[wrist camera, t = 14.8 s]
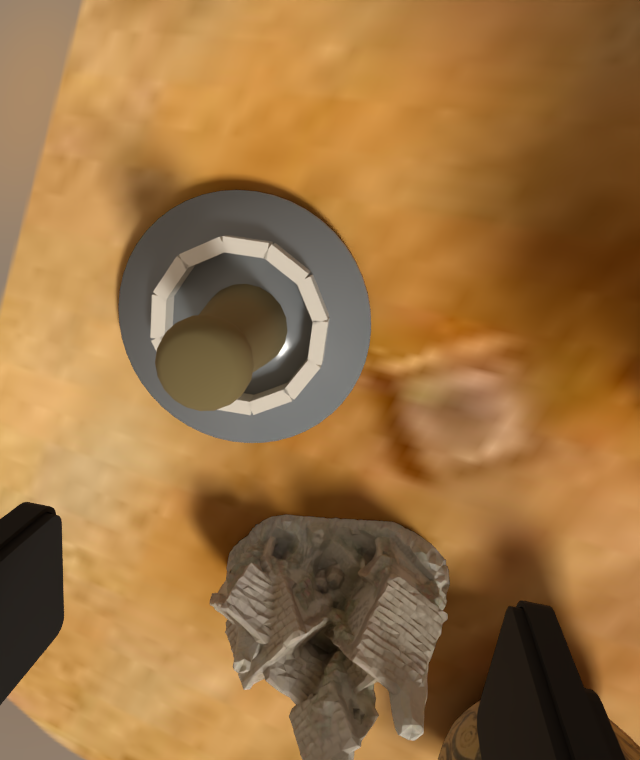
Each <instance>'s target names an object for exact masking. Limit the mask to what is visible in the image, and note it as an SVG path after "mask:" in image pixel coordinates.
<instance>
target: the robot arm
mask: <svg viewBox="0 0 640 760" xmlns="http://www.w3.org/2000/svg"><path fill="white" fill-rule="evenodd" d="M63 620H64V598H63V559H62V522H61V518H60V516H58V515H56V512H55V510H54V508H52V507H50V506H45V505H40V504H35V503H30V502H24V503H22V504H20V505H19V506H17V507H16V508H15V509H13V510H12V511H11V512H9V513H8V514H7V515H5V516H4V517H3V518H1V519H0V705H1V704H2V702H3V701H4V700H5V699H6V697H7V696H8V695H9V694H10V693H11V691H12V690H13V689H14V688H15V686H16V685H17V684H18V683H19V682H20V680H21V679H22V678H23V677H24V675H25V674H26V673H27V672H28V671H29V669H30V668H31V667H32V666H33V665H34V663H35V662H36V661H37V660H38V658H39V657H40V656H41V655H42V654H43V652H44V651H45V650H46V649H47V647H48V646H49V645H50V644H51V643H52V641H53V640H54V639H55V638H56V636H57V635H58V633H59V631H60V630H61V627H62V624H63ZM477 733H478V739H479V746H480V752H481V759H482V760H626V759H625V757H624V754H623V752H622V749H621V747H620V745H619V742H618V740H617V737H616V735H615V733H614V730H613V728H612V726H611V723H610V721H609V718H608V716H607V714H606V711H605V709H604V706H603V704H602V702H601V700H600V698H599V696H598V695H597V694H596V693H595V692H594V691H593V690H591V689H586V688H584V686H583V684H582V681H581V679H580V676H579V673H578V671H577V668H576V666H575V663H574V661H573V658H572V656H571V653H570V651H569V648H568V646H567V643H566V641H565V638H564V635H563V633H562V630H561V628H560V625H559V623H558V620H557V618H556V615H555V613H554V611H553V609H552V607H550V606H547V605H542V604H537V603H532V602H527V601H519V603H518V604H517V606H516V607H512V606H509V607H508V608H507V610H506V613H505V617H504V620H503V624H502V627H501V631H500V634H499V638H498V641H497V645H496V648H495V651H494V655H493V658H492V662H491V665H490V669H489V672H488V676H487V679H486V683H485V686H484V690H483V693H482V697H481V700H480V704H479V707H478V712H477Z"/></svg>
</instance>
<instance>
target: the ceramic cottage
mask: <svg viewBox="0 0 640 760" xmlns="http://www.w3.org/2000/svg"><path fill="white" fill-rule="evenodd" d="M238 542H239V543H238V544H237V545H235V546H234V547H233V549H232V551H231V552H230V553H229V558H228V564H227V577H226V581H225V582H224V584H223V585H222V586H221V588H220V590H219V592H218V593H212V596H211V599H210V605H211V606H213V607H214V609H215V610H217V611H218V612H220V613H221V614H223V615H224V616H225V617H226V618H227V619H228V620H227V622H226V631H225V633H226V634H227V636H228V640H229V642H230V645H231V650H232V652H233V656H234V663H233V668H234V670H235V671H236V672H238V673H239V674H238V676H239V678H240V680H241V683H242V686H243V689H244V690H247V689H251V687H252V685H253V684H255V683H257V682H259V681H260V680H263V679H265V680H266V682H268V683H269V684H270V685H272V686H273V687H274V688H275V689H277V690H278V691H279V692H281V693H283V694H284V695H286V696H288V697H290V698H291V700H292V701H293V702H294V703H295V704H296V706H294V707H293V708H292V710H291V712H290V715H289V718H290V720H291V723H292V726H293V729H294V734H295V737H296V740H297V743H298V746H299V749H300V755H301V757H302V759H303V760H354V751H355V750H357V749H358V748H360V747H361V741H362V739H363V738H364V737H365V736H366V734H367V733H368V731H369V730H370V728H371V727H372V725H373V724H374V723H375V721H376V719H377V717H378V716H379V715H378V713H377V711H376V709H375V701H376V697H375V693H374V683H376V682H379V683H380V684H382V685H383V686H384V687H385V688H386V689H387V690H388V691H389V695H390V703H391V710H392V716H393V721H394V726H395V729H396V731H397V734H398V735H400V736H402V737H404V738H406V739H409V740H414V741H415V740H416V739H417V738H418V737H420V736H421V735H422V734H423V732H424V708H425V704H426V700H427V690H428V684H427V674H428V663H429V661H430V659H431V657H432V654H433V651H434V648H435V646H436V643H437V640H438V638H439V636H440V635H441V630H442V623H444V622H445V621H446V620H447V619H448V614H447V613H445V612H444V611H443V610H444V608H445V606H446V603H447V600H446V593H447V591H448V588H449V584H450V581H449V570H448V567H447V566H446V560H445V559H444V558H443V557H442V555H441V554H440V553H439V552H438V551H437V550H436V548H435V547H434V546H433V545H432V544H430V543H429V542H427V541H426V540H425V539H423V538H422V537H421V536H419V535H417V534H416V533H414V532H413V531H410V530H409V529H405V528H404V527H403V526H401V525H399V524H397V523H394V522H387V521H385V522H383V521H376V520H374V521H370V520H368V521H367V520H361V519H360V520H356V519H339V518H332V519H330V518H328V519H327V518H324V517H322V518H320V517H310V516H307V517H306V516H304V517H303V516H295V515H280V516H272V517H270V518H267V519H266V520H263V521H262V522H261V523H260V524H256V525H255V528H252V531H250V533H249V535H248V536H246V537H245V538H243V539H242V540H240V541H238Z"/></svg>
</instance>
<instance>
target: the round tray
mask: <svg viewBox="0 0 640 760" xmlns="http://www.w3.org/2000/svg"><path fill="white" fill-rule="evenodd" d="M236 284H249V285H253V286H257V287H260V288H262V289H263V290H265V291H267V292H268V293H270V294H272V296H273V297H274V298H275V299H276V300H277V301H278V303H279V304H280V305H281V307H282V309H283V312H284V314H285V316H286V322H287V335H286V340H285V344H284V346H283V347H282V349H281V351H280V352H279V354H278V355H277V356H276V357H275V358H273V359H272V360H271V361H270V362H268V363H267V364H265V365H264V366H262V367H261V368H259V369H258V370H256V371H255V372H253V374H252V379H251V381H250V383H249V385H248V386H247V388H246V390H245V391H244V393H243V394H242V396H241V397H239V398H238V399H237V400H236V401H234V402H233V403H232V404H231V405H228V406H225V407H223V408H220V409H217V410H215V411H198V410H194V409H190V408H187V407H185V406H183V405H181V404H180V403H178V402H176V401H175V400H174V399H173V398H172V397H171V396H170V395H169V394H168V393H167V392H166V391H165V390H164V388H163V386H162V384H161V383H160V381H159V379H158V377H157V371H156V366H155V359H156V352H157V348H158V346H159V344H160V342H161V340H162V338H163V336H164V334H165V332H167V331H168V330H169V329H170V328H171V327H172V326H173V325H174V324H175V323H177V322H179V321H181V320H183V319H186V318H188V317H191V316H194V315H199V314H200V313H201V311H202V310H203V309H204V307H205V306H206V305H207V303H208V302H209V301H210V300H211V298H212V297H214V296H215V295H216V294H217V293H218V292H219V291H220V290H222V289H224V288H226V287H229V286H231V285H236ZM119 323H120V329H121V335H122V340H123V343H124V346H125V350H126V353H127V355H128V358H129V360H130V362H131V365H132V367H133V369H134V371H135V372H136V374H137V376H138V377H139V379H140V381H141V382H142V384H143V385H144V386H145V388H146V389H147V390H148V392H149V393H150V394H151V396H152V397H153V398H154V399H155V400H156V401H157V402H158V403H159V404H160V405H161V406H162V407H163V408H164V409H166V410H167V411H168V412H169V413H170V414H172V415H173V416H174V417H175V418H177V419H179V420H180V421H182V422H183V423H185V424H186V425H188V426H190V427H192V428H194V429H196V430H198V431H200V432H202V433H205V434H207V435H210V436H213V437H216V438H220V439H224V440H228V441H234V442H244V443H263V442H270V441H277V440H281V439H285V438H289V437H292V436H295V435H297V434H299V433H302V432H304V431H306V430H308V429H310V428H312V427H313V426H315V425H317V424H319V423H320V422H321V421H323V420H324V419H325V418H327V417H328V416H329V415H330V414H332V413H333V412H334V411H335V410H336V409H337V408H338V407H339V406H340V405H341V404H342V403H343V401H344V400H345V399H346V397H347V396H348V395H349V393H350V392H351V391H352V389H353V387H354V385H355V384H356V382H357V380H358V378H359V376H360V374H361V371H362V369H363V366H364V364H365V361H366V357H367V353H368V348H369V343H370V333H371V311H370V304H369V298H368V292H367V289H366V286H365V282H364V279H363V276H362V274H361V272H360V269H359V267H358V265H357V263H356V261H355V259H354V257H353V256H352V254H351V253H350V251H349V249H348V248H347V246H346V245H345V244H344V242H343V241H342V240H341V239H340V238H339V236H338V235H337V234H336V233H335V232H334V231H333V230H332V229H331V228H330V227H329V226H328V225H327V224H326V223H325V222H324V221H323V220H321V219H320V218H318V217H317V216H316V215H314V214H313V213H311V212H310V211H309V210H307V209H305V208H303V207H301V206H299V205H298V204H296V203H294V202H292V201H289V200H286V199H284V198H281V197H278V196H276V195H271V194H266V193H262V192H257V191H245V190H228V191H218V192H213V193H208V194H204V195H201V196H198V197H195V198H192V199H190V200H187V201H185V202H183V203H181V204H180V205H178V206H176V207H174V208H172V209H171V210H169V211H168V212H167V213H165V214H164V215H163V216H162V217H160V218H159V219H158V220H157V221H156V222H155V223H154V224H153V225H152V226H151V227H150V228H149V229H148V230H147V231H146V232H145V234H144V235H143V236H142V238H141V239H140V240H139V242H138V243H137V245H136V247H135V248H134V250H133V252H132V254H131V256H130V258H129V260H128V263H127V266H126V268H125V271H124V274H123V278H122V283H121V287H120V295H119Z"/></svg>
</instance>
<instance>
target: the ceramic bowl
mask: <svg viewBox="0 0 640 760" xmlns="http://www.w3.org/2000/svg"><path fill="white" fill-rule="evenodd" d="M479 704H480V701H478V702H477V703H475V704H474V705H473V706H471V707H470V708H469V709H467V710H466V711H465V712H464V713H463V714H462V715H461V716H460V717H459V718H458V719H457V720H456V721H455V722H454V723H453V725H452V727H451V729H450V730H449V732H448V734H447V736H446V738H445V740H444V743H443V745H442V748H441V751H440V754H439V758H438V760H482V759H481V752H480V746H479V739H478V733H477V712H478V707H479ZM609 721H610V723H611V726H612V728H613V730H614V733H615V735H616V737H617V740H618V742H619V745H620V747H621V749H622V752H623V754H624V757H625V759H626V760H640V747H639V746H638V745H637V744H636V743H635V742H634V741H633V740H632V739H631V738H630V737H629V736H628V735H627V734H626V733H625V732H624V731H623V730H621V729H620V728H619V727H618V726H617V725H616V724H614V723H613V722H612V721H611V720H610V719H609Z"/></svg>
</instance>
